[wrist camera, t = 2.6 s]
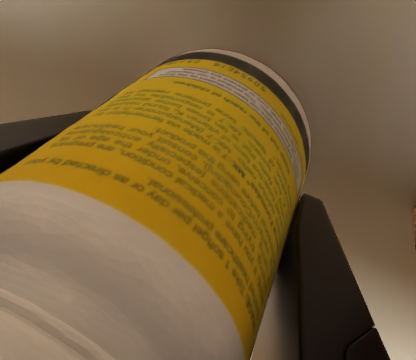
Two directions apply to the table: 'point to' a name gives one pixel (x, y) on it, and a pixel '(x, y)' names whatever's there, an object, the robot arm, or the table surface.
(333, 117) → the table surface
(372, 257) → the table surface
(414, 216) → the holder
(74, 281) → the supplement bottle
